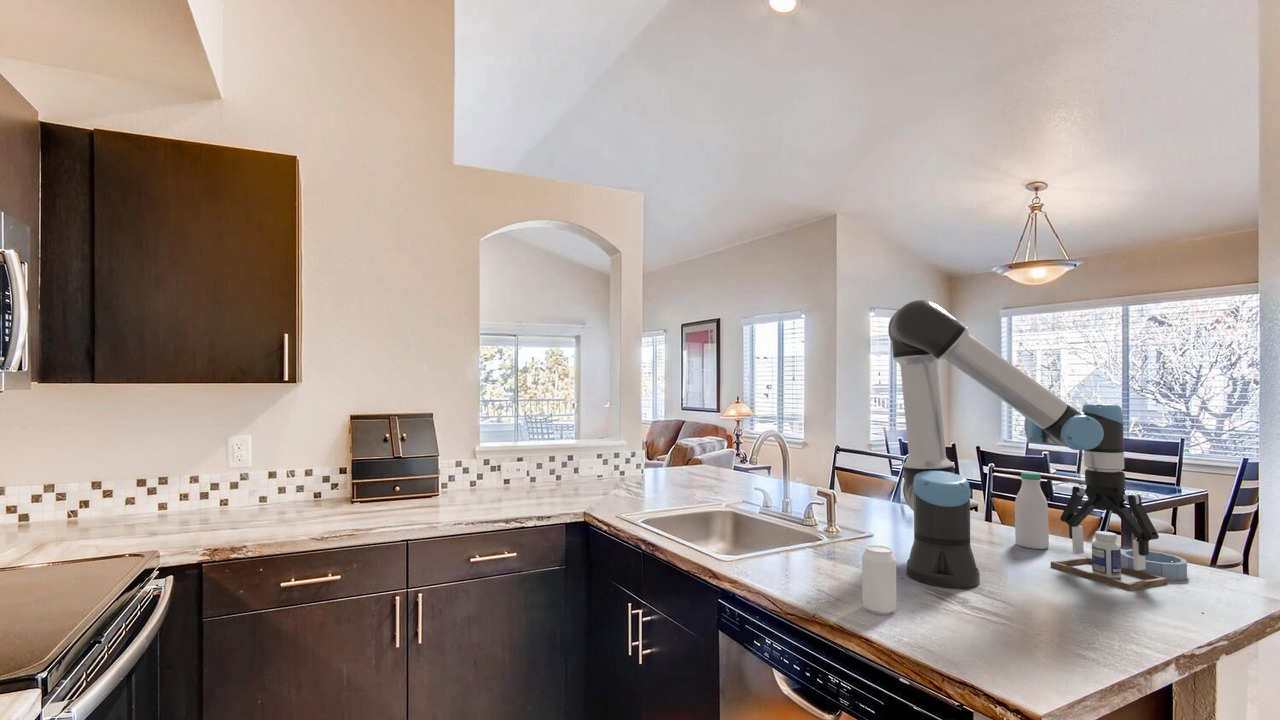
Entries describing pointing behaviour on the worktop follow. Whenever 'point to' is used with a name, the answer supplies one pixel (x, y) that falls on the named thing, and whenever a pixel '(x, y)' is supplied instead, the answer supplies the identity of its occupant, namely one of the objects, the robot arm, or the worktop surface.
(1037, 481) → the milk bottle
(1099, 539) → the pill bottle
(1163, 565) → the bowl
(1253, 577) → the worktop surface
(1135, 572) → the empty rectangular wooden frame
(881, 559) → the beverage can
